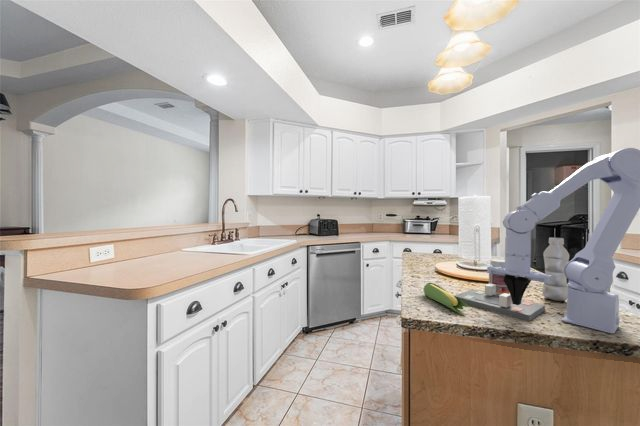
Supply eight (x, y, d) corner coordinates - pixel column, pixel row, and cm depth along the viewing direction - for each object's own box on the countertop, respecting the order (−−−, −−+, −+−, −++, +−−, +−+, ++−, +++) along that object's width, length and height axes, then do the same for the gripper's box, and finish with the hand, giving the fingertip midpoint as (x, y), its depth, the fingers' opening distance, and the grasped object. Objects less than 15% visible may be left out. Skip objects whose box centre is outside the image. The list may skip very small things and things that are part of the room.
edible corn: (433, 294, 96) (433, 281, 96) (472, 316, 76) (473, 300, 76) (419, 294, 95) (419, 281, 95) (455, 317, 75) (455, 300, 75)
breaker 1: (495, 293, 90) (495, 284, 90) (490, 295, 88) (491, 286, 88) (489, 292, 91) (489, 283, 91) (484, 294, 89) (484, 285, 89)
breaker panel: (544, 310, 80) (544, 304, 80) (529, 321, 72) (529, 315, 72) (472, 293, 96) (472, 288, 96) (453, 300, 88) (453, 295, 88)
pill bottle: (514, 295, 95) (514, 261, 95) (497, 295, 94) (498, 262, 94) (500, 289, 101) (500, 258, 101) (484, 290, 100) (485, 259, 100)
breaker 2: (511, 305, 79) (511, 294, 79) (506, 307, 77) (506, 296, 77) (504, 303, 81) (504, 293, 81) (499, 305, 79) (499, 295, 79)
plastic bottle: (557, 297, 93) (559, 237, 93) (574, 303, 86) (575, 239, 86) (537, 296, 94) (538, 236, 93) (551, 303, 87) (553, 239, 86)
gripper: (482, 252, 80) (482, 299, 80) (546, 260, 68) (544, 315, 69) (493, 250, 84) (492, 295, 84) (554, 257, 73) (553, 309, 73)
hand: (516, 303), depth 77 cm, fingers closed
